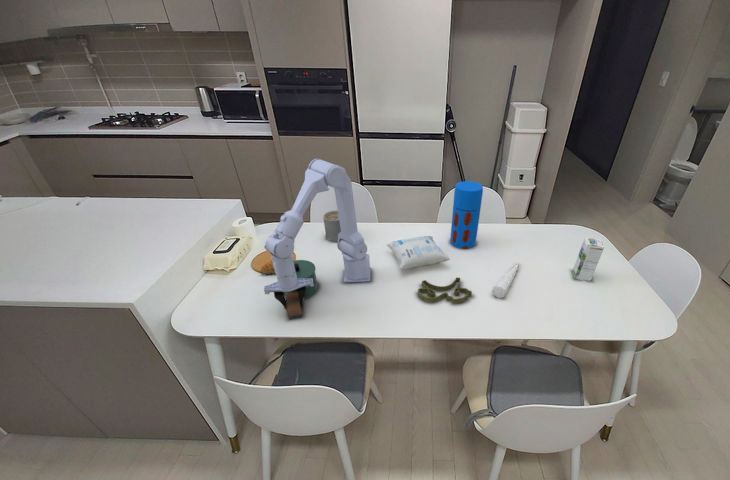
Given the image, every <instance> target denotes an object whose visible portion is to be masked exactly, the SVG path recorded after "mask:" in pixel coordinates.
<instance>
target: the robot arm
mask: <svg viewBox="0 0 730 480" xmlns="http://www.w3.org/2000/svg"><path fill="white" fill-rule="evenodd" d="M346 169H347V168H344V167H342V166H341V165H338V164H334V163H331V162H328V161H325V160H323V159H322V158H314V159H312V160H311V161H310V163H309V164H308V167H307V169H306V170H305V171H304V182H303V183H302V185H301V187H300V190H299V192H298V194H297V197H296V198H295V201H294V202H293V205H292V207H291V209H289V210H287V211H284V213H283V214H282V215H281V216H280V218H279V220H280V221H279V223H278V225H277V226H276V228H275V230H274V231H273V232H272V234H270V235H269V236H268V237H267V238H266V240H265V242H264V243H265V245H264V246H263V247H264V249H265V250H266V251H267V252H268V253H269V255H270V259H271V260H272V262H273V266H274V270H275V273H274V274H275V276H276V280H277V281H276V282H274V283H271V284H267V285H264V286H263V292H264V295H269V294H270V293H273V295H274V299H275V300H277V301H278V302H279V303H280V304H281V305H282V307H283V308H284V309H285V311H286V296H285V294H284V292H289V291H293V290H295V289H297V290H298V296H299V299H300V305H301V308H303V307H304V299H305V298H304V296H305V293H306V288H305V286H310V287H312V286H314V284H313V279H312V278H308V279H305V278H297V275H296V271H295V267H294V262H293V261H294V259H293V253H294V251H295V241H296V238H297V236H298V234H299V232H300V230H301V228H302V227H303V225H304V217H303V216H304V215H305V213H306V211H307V210H308V208H309V207H310V205H311V204H312V202H313V200H314V199H315V198H316V196H317V194H320V193H324V192H328V191H330V188H333V190H334V196H335V201H336V202H335V203H336V209H337V210H338V215H339V221H340V227H341V232H340V233H339V234H338V242H336V243H337V244H336V246H337V249H338V250H339V251H340V252H341V255H342V261H343V267H344V276H343V283H364V282H371V273H372V267H371V262H370V260H371V259H370V254H369V253H368V245H367V244H366V241H365V238H364V237H363V236H362V234H361V233H360V232H359V229H358V223H357V215H356V208H355V200H354V199H355V198H354V192H353V185H352V180H351V178H350V176H349V175H348V174H347V170H346ZM329 187H330V188H329Z"/></svg>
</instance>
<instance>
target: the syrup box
mask: <svg viewBox="0 0 730 480" xmlns="http://www.w3.org/2000/svg"><path fill="white" fill-rule="evenodd" d="M582 241H583V242H582V244H581V246H580V249H579V252H578V255H577V258H576V260H575V263H574V266H573V269H572V273H573V277H574V279H575V280H580V281H588V282H591V281H592V278H593V277H594V275H595V271H596V269H597V266H598V264H599V261H600V259H601V256H602V255H603V253H604V252H603V251H604V249H605V246H604V243H603V242H602V240H601V239H598V238H592V237H584V239H583V240H582Z"/></svg>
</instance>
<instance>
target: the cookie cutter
mask: <svg viewBox="0 0 730 480" xmlns="http://www.w3.org/2000/svg"><path fill="white" fill-rule="evenodd" d="M457 283H458V284H457ZM456 284H457V286H456ZM460 285H461V277H455V279H454V281H453V282H452V283H450V284H448V285H443V286H440V285H435V284H432V283H430V282H429V281H427V280H424V279H423V280H421V288H417V295H418V297H419V299H421V300H422V301H423V302H426V303H429V304H432V303H437V302H439V301H442V300H443V299H444V298H446V300H447V302H451V303H452V305H456V304H462V303H464V302H466V301H467V300H468V298H471V297H472V294H473V291H472V290H469V289H468V288H467V287H460ZM455 286H456V288H454V287H455ZM453 288H454V290H453V291H454V292H453V296H452V295H449V292H448V291H450V290H452V289H453ZM436 292H443V293H441V294H439V295H437V296H436V294H437V293H436ZM424 294H427V295H424ZM460 294H465V296H462V297H459V296H460ZM454 297H459V298H454Z"/></svg>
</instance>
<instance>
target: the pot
mask: <svg viewBox="0 0 730 480" xmlns="http://www.w3.org/2000/svg"><path fill="white" fill-rule="evenodd" d="M309 278H312V279H313V284H314V286H312V287H310V286H305V288H306V293H305V296H304V299H306V298H308V297H310V296H312V295H314V294H315V292H317V290H318V281H317V275H316V271H315V272H314V274H313V275H312V276H311V277H309ZM307 279H308V278H307ZM293 292H298V290H297V289H295V290H293V291H289V292H284V296H285V297H286V294H287V293H293Z"/></svg>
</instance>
